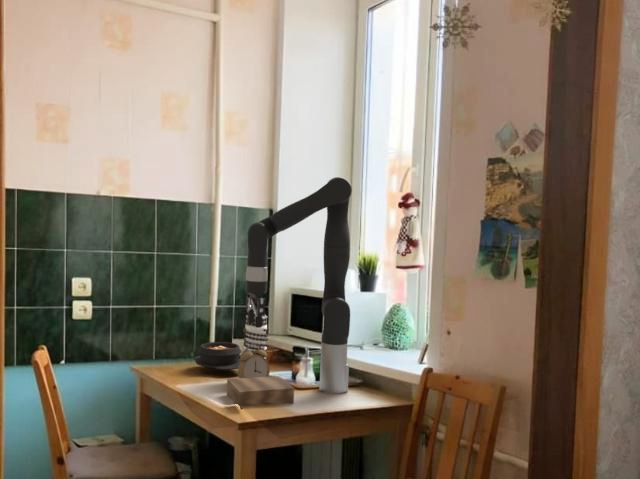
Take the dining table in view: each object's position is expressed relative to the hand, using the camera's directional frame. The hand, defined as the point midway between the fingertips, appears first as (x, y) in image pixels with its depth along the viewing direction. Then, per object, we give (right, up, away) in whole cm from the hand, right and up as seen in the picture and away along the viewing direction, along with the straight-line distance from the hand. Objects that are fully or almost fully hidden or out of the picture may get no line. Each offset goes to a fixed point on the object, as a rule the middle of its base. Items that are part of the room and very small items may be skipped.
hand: (254, 325), depth 239 cm
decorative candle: (-1, -22, +10) cm, 23 cm away
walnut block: (+3, -23, -15) cm, 28 cm away
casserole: (-17, -20, +28) cm, 38 cm away
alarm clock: (-1, -22, +1) cm, 22 cm away
